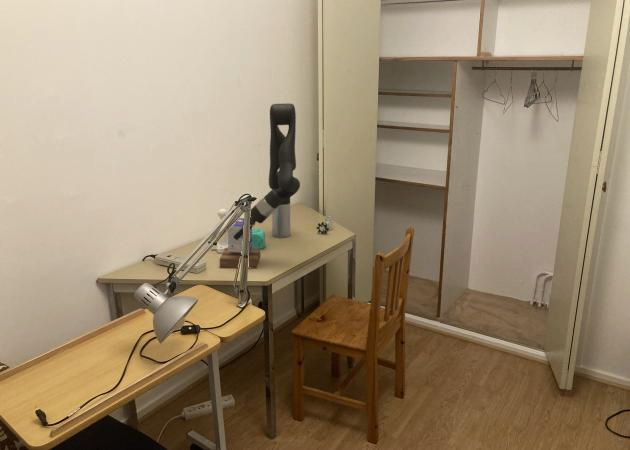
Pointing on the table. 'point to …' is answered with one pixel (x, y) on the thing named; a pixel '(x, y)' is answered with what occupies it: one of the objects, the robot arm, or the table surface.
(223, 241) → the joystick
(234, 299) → the table surface
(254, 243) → the decorative dice
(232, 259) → the walnut stand
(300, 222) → the table surface
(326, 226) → the valve
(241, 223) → the ink cartridge box
